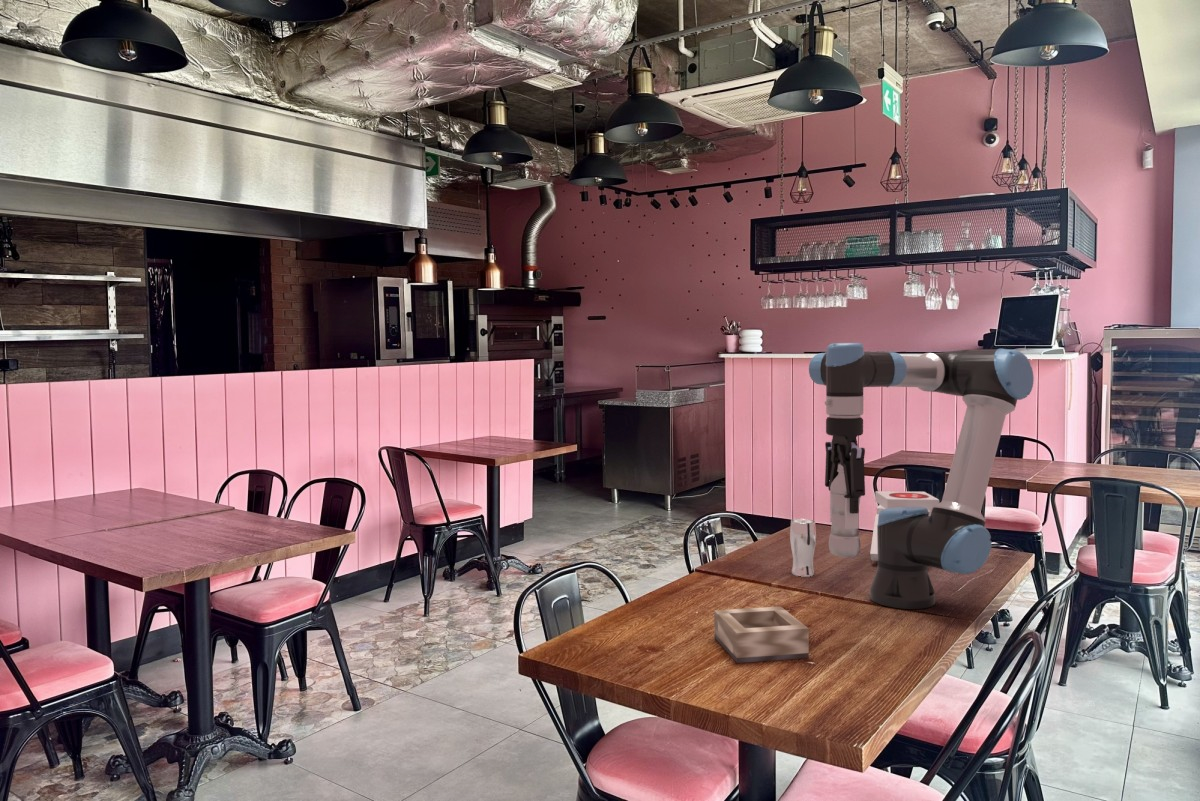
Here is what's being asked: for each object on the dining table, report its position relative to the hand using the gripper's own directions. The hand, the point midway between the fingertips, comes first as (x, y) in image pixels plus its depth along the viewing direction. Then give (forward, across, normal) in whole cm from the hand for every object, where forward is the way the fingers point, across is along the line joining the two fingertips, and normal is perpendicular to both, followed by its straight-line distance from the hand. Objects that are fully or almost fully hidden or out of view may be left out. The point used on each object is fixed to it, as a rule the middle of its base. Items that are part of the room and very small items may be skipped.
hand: (844, 524), depth 175 cm
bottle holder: (+25, +1, -19) cm, 31 cm away
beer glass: (+25, -52, +13) cm, 59 cm away
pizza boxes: (+25, -64, +50) cm, 85 cm away
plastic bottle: (+7, 0, 0) cm, 7 cm away
